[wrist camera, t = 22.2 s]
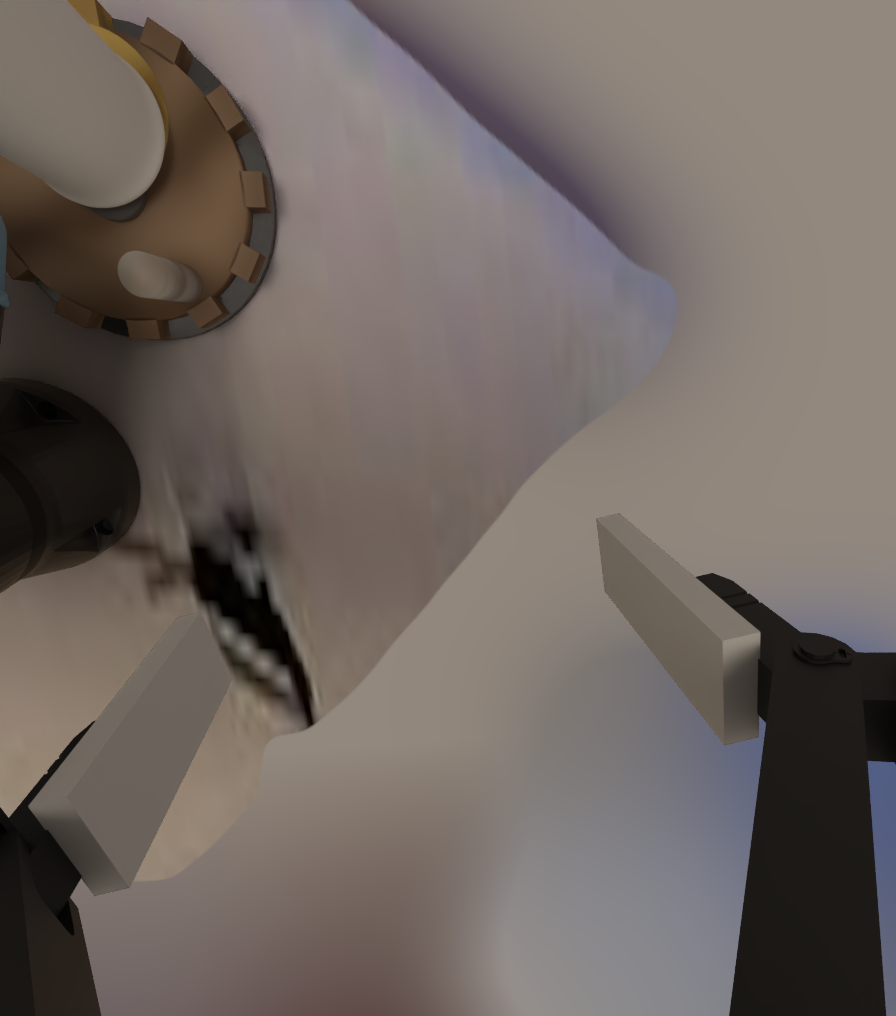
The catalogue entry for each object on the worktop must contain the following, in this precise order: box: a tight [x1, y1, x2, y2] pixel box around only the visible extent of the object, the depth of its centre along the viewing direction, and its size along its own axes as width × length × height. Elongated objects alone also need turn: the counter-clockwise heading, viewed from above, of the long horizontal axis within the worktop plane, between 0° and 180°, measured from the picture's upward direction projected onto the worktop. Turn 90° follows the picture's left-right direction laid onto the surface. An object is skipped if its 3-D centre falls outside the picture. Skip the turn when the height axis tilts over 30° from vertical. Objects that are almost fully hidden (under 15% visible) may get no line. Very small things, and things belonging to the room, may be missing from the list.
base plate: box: [34, 18, 276, 340], centre depth 33 cm, size 19×19×1 cm
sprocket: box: [0, 0, 272, 339], centre depth 29 cm, size 18×18×8 cm
